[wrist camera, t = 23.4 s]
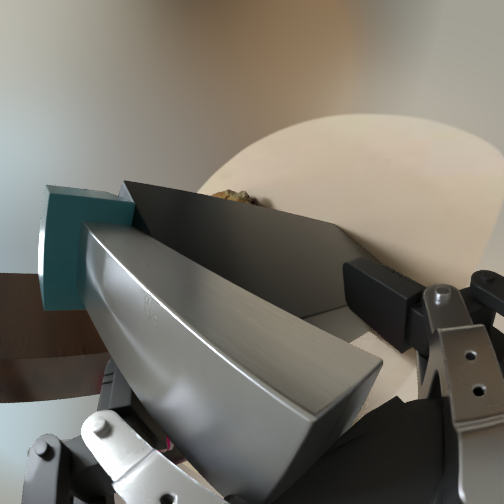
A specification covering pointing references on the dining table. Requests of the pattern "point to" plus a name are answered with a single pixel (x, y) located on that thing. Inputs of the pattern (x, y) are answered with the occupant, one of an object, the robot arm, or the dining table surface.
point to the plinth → (45, 346)
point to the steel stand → (257, 251)
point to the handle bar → (202, 348)
